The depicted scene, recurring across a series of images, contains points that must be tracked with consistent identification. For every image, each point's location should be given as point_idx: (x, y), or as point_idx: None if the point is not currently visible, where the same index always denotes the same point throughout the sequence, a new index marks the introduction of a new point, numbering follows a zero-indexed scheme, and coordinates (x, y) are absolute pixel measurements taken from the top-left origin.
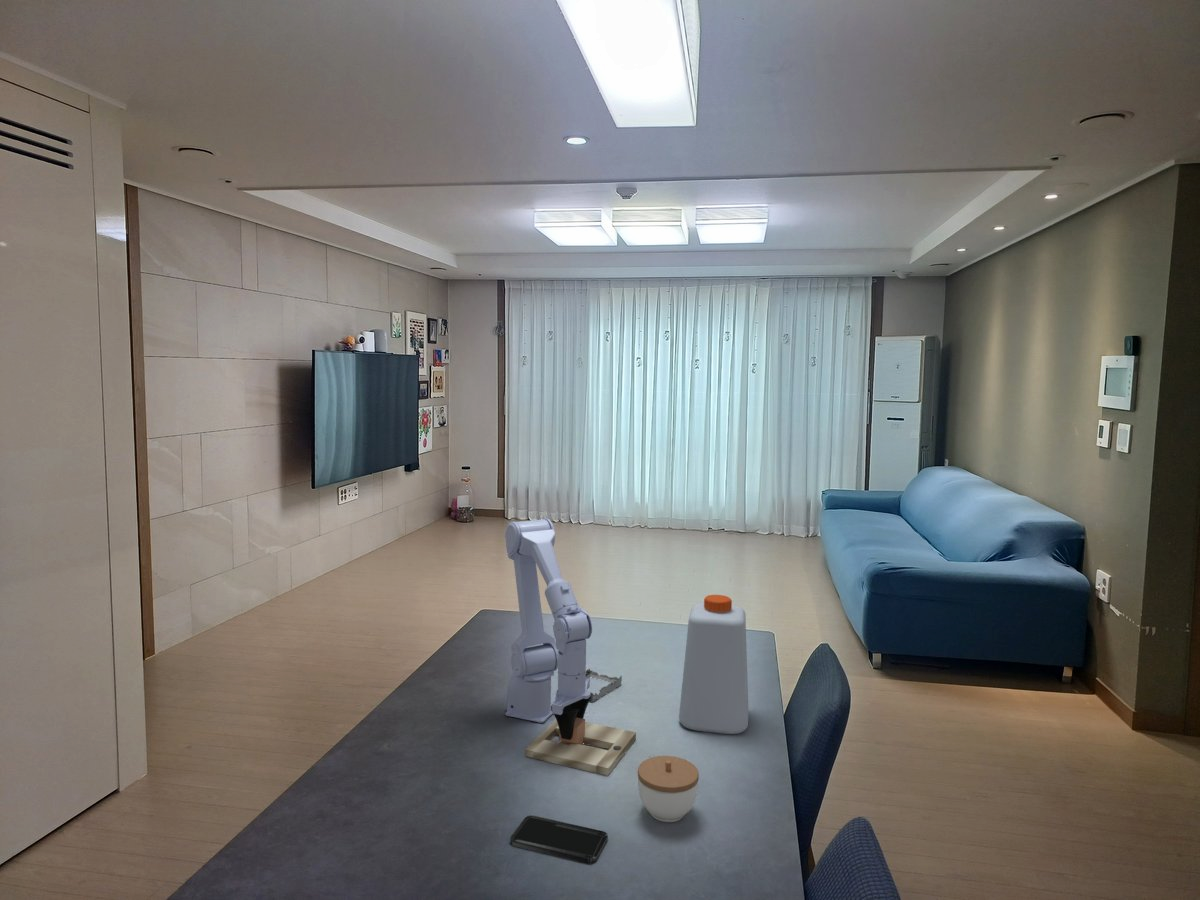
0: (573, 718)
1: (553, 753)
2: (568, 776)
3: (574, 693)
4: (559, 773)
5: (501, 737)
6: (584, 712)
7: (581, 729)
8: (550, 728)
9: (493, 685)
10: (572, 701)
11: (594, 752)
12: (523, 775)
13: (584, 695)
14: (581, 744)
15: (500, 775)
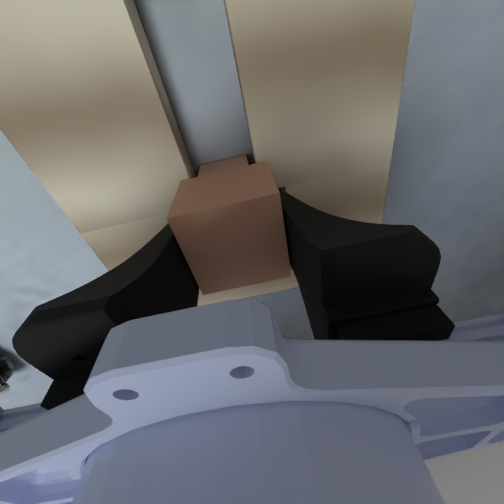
0: (362, 225)
1: (372, 191)
2: (460, 46)
3: (423, 479)
4: (440, 101)
5: (302, 335)
6: (140, 253)
7: (219, 189)
8: (223, 294)
9: None
10: (470, 362)
11: (285, 21)
12: (471, 197)
13: (276, 381)
14: (217, 163)
15: (477, 242)
